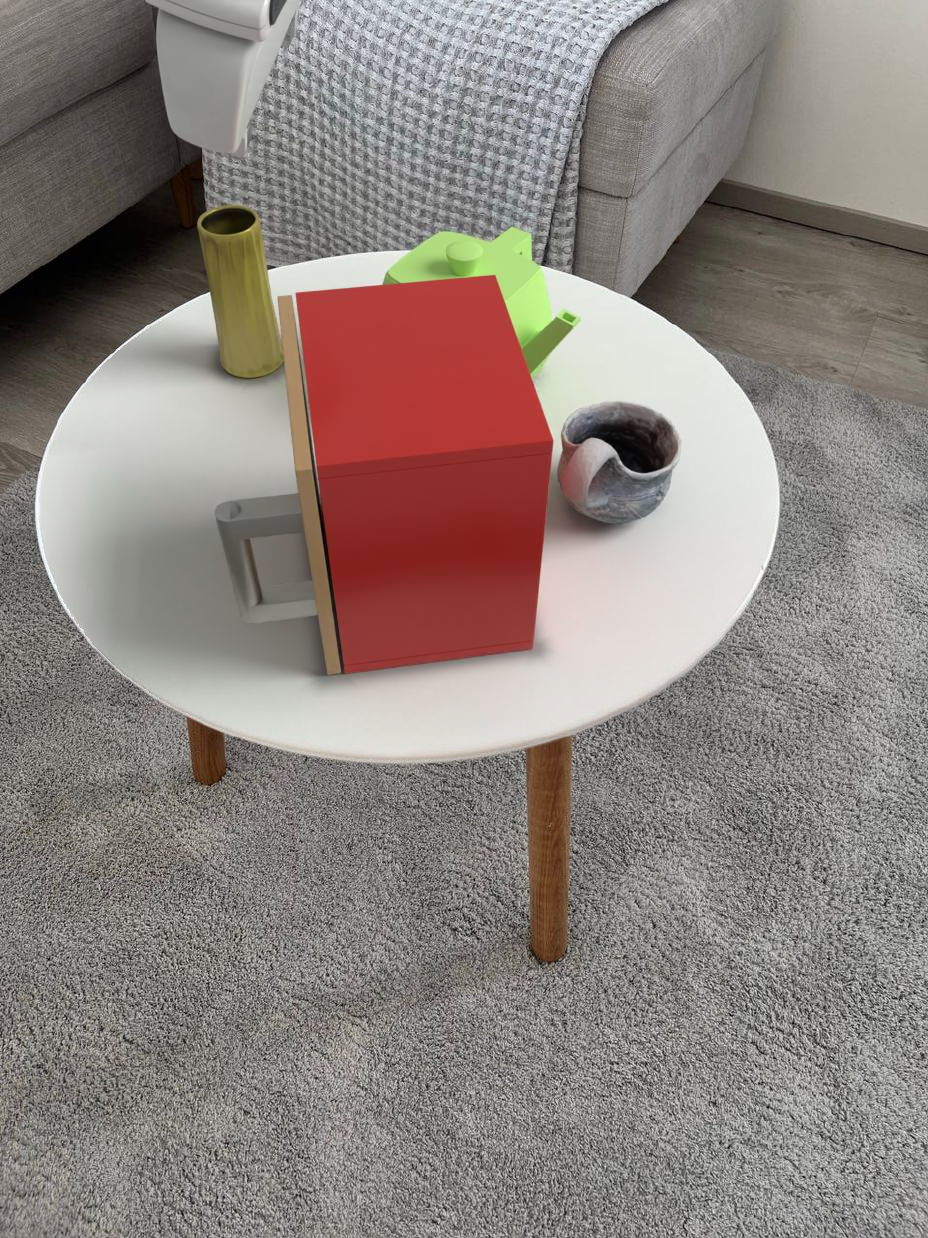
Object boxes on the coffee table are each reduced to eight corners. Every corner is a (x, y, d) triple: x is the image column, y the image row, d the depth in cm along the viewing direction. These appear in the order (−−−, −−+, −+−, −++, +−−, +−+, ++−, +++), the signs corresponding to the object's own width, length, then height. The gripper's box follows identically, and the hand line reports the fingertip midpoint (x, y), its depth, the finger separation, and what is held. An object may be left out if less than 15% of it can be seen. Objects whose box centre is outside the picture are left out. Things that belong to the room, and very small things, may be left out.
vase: (290, 342, 99) (270, 203, 88) (277, 381, 96) (254, 240, 85) (229, 338, 100) (202, 199, 89) (213, 376, 96) (183, 236, 85)
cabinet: (344, 674, 74) (316, 466, 58) (323, 503, 85) (295, 291, 70) (533, 649, 75) (553, 440, 60) (487, 485, 87) (495, 274, 71)
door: (252, 685, 73) (199, 481, 58) (243, 511, 84) (197, 302, 69) (341, 673, 74) (312, 468, 58) (320, 502, 85) (291, 294, 70)
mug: (681, 482, 87) (704, 387, 79) (639, 582, 80) (658, 488, 72) (575, 452, 89) (586, 357, 82) (524, 546, 82) (531, 451, 74)
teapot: (618, 363, 98) (636, 237, 88) (505, 479, 87) (512, 351, 77) (460, 300, 104) (460, 177, 94) (337, 402, 94) (323, 274, 84)
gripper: (257, -266, 56) (260, -40, 69) (126, -2, 49) (157, 194, 62) (368, -224, 56) (350, -8, 69) (253, 43, 50) (257, 227, 63)
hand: (258, 90), depth 66 cm, fingers open, 8 cm apart
